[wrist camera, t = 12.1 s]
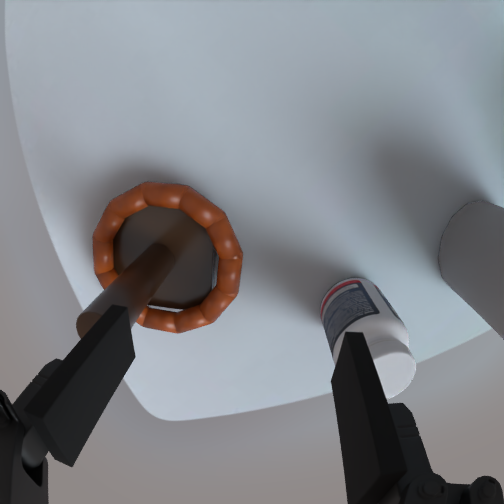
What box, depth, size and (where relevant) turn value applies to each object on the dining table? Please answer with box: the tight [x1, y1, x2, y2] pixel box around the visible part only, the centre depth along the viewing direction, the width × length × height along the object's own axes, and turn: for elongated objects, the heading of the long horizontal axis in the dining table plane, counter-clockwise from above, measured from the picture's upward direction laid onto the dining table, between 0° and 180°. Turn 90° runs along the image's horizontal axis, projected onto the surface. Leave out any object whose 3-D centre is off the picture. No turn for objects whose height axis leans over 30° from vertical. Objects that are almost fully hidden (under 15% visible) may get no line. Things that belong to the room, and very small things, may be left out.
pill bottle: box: [320, 278, 416, 399], centre depth 20 cm, size 5×5×9 cm
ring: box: [92, 182, 243, 333], centre depth 21 cm, size 11×11×2 cm
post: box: [76, 206, 215, 339], centre depth 18 cm, size 8×8×11 cm
